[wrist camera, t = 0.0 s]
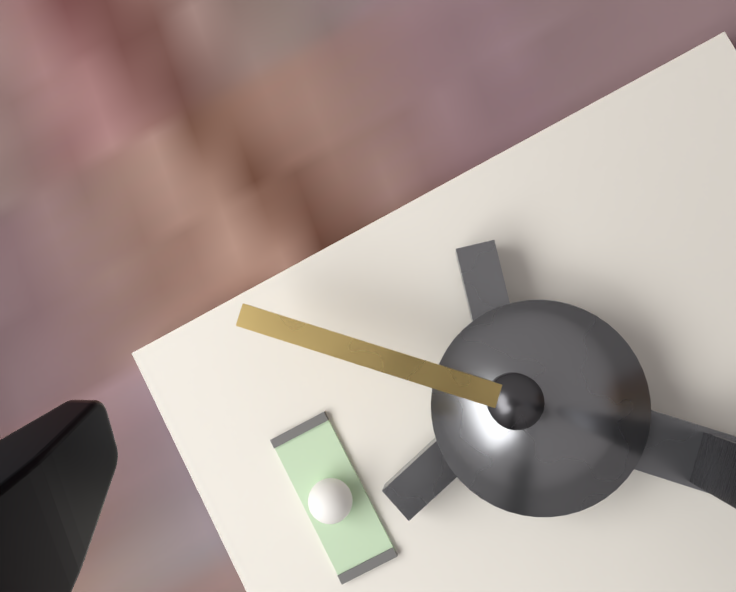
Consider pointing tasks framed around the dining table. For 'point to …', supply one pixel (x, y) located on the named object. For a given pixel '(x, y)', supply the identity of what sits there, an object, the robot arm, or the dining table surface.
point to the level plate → (438, 329)
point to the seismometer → (528, 405)
